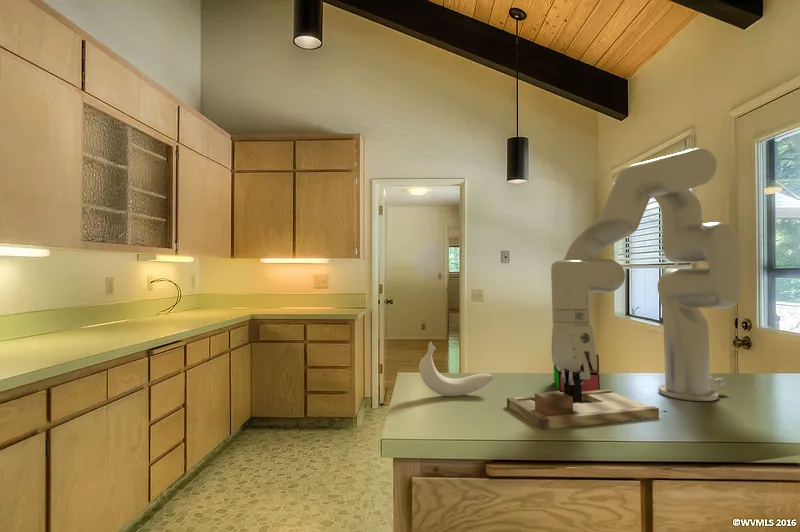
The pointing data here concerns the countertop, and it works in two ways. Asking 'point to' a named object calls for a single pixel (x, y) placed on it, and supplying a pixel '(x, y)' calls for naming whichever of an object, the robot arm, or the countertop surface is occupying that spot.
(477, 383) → the banana
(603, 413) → the box
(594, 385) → the puzzle cube
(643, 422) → the countertop surface
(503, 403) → the countertop surface
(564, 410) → the walnut block
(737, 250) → the robot arm
